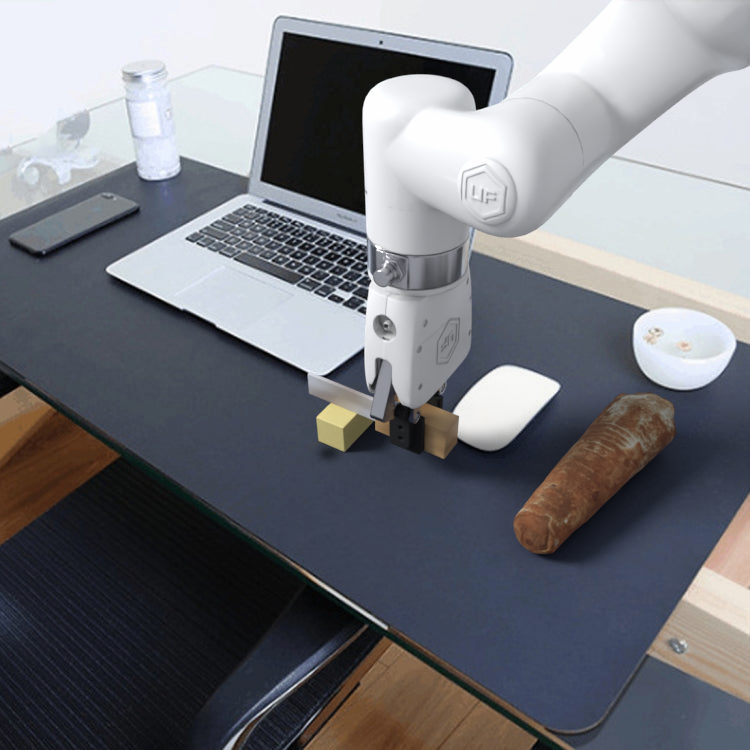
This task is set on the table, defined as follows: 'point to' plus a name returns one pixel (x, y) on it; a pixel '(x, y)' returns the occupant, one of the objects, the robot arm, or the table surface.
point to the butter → (340, 426)
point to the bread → (595, 469)
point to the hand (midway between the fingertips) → (416, 435)
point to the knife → (437, 421)
